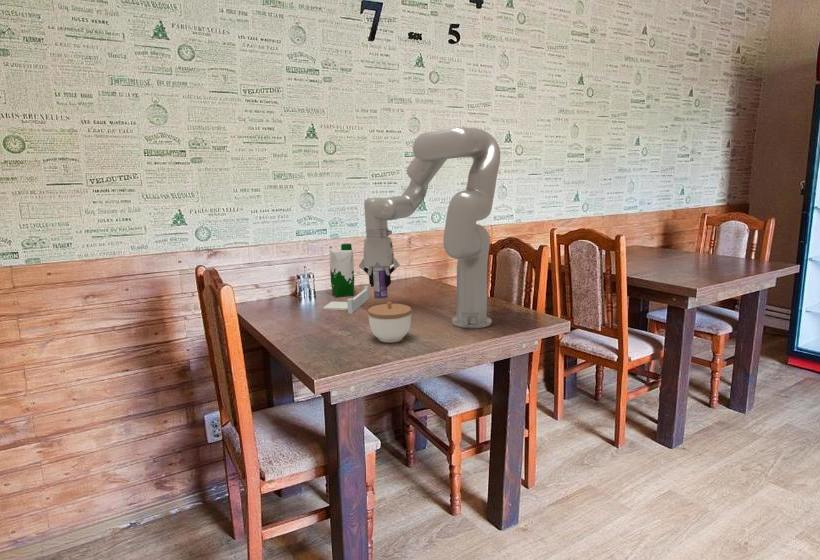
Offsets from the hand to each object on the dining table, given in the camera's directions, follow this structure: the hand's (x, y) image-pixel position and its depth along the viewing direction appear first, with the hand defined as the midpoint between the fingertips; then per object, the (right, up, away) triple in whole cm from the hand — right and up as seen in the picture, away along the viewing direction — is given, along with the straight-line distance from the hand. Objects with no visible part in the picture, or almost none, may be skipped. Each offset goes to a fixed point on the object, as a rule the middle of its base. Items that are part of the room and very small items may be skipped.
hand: (380, 285), depth 193 cm
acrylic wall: (-8, -7, +8) cm, 13 cm away
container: (0, -5, +1) cm, 5 cm away
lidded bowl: (+5, -16, -31) cm, 35 cm away
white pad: (-15, -8, +7) cm, 19 cm away
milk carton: (-16, -4, +26) cm, 30 cm away
